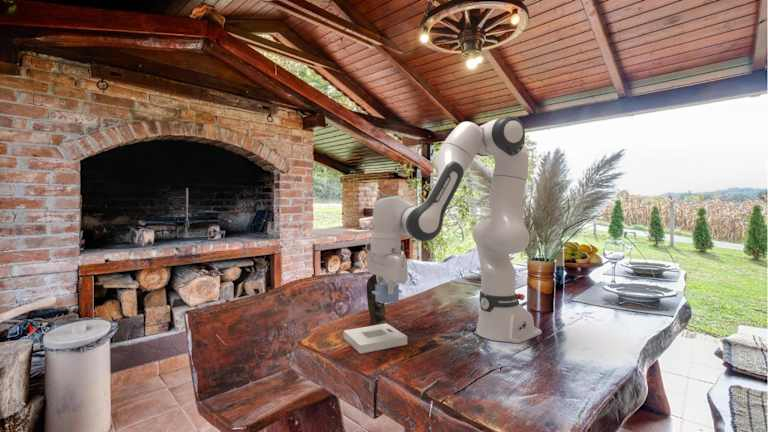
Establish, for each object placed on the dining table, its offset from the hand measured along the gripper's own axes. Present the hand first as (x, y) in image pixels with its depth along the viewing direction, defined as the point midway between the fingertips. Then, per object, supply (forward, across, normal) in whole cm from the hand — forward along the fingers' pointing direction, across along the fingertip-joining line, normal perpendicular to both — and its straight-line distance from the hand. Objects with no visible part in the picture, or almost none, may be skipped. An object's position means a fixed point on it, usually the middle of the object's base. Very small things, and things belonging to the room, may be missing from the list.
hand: (385, 291), depth 110 cm
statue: (+17, +19, -7) cm, 26 cm away
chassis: (+17, +5, +1) cm, 18 cm away
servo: (+3, 0, 0) cm, 3 cm away
